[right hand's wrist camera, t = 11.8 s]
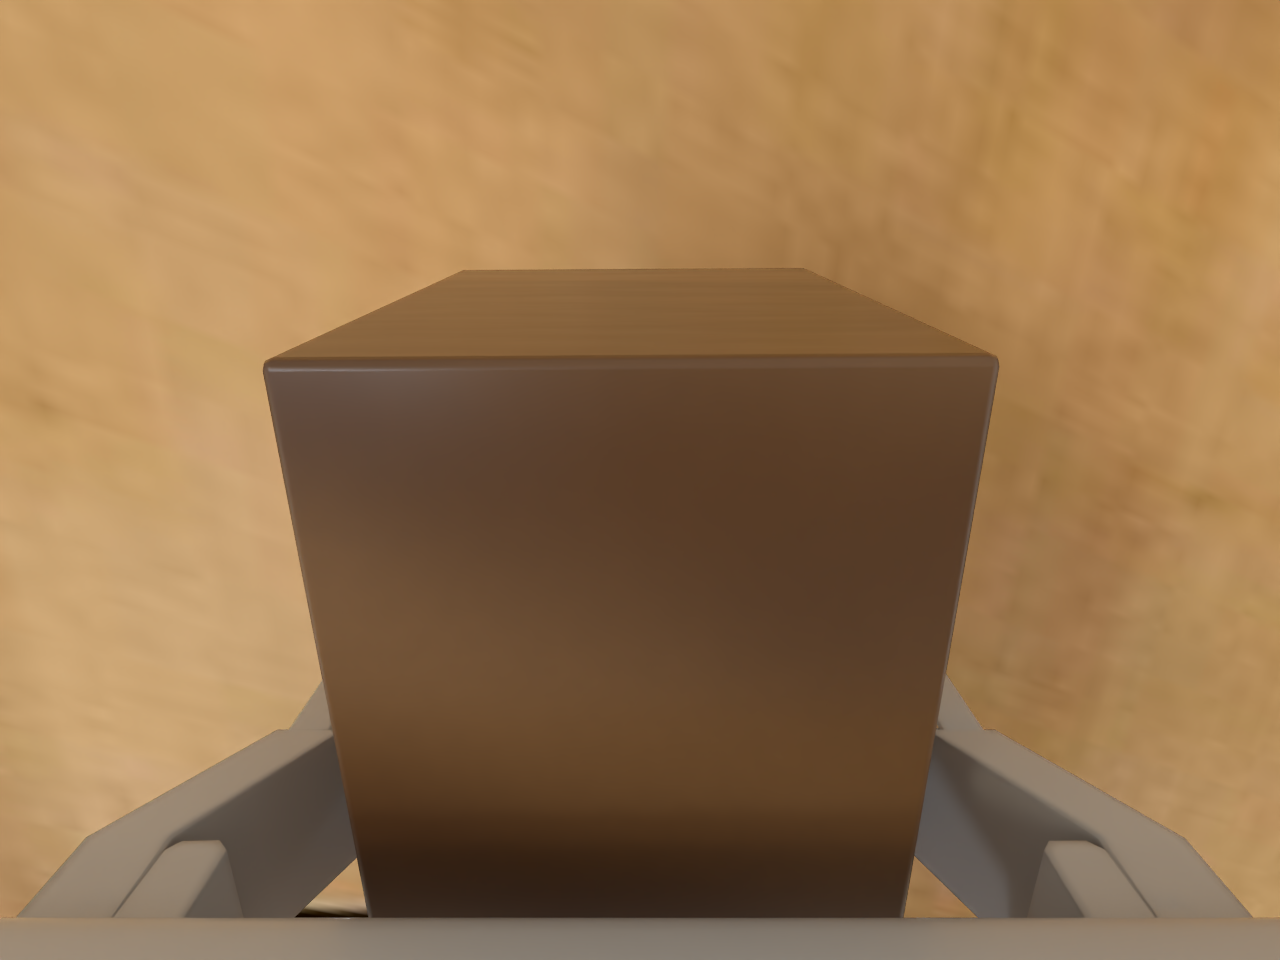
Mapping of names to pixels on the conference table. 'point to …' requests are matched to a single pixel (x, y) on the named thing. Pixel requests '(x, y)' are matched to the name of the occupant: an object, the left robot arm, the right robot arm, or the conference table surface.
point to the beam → (633, 587)
